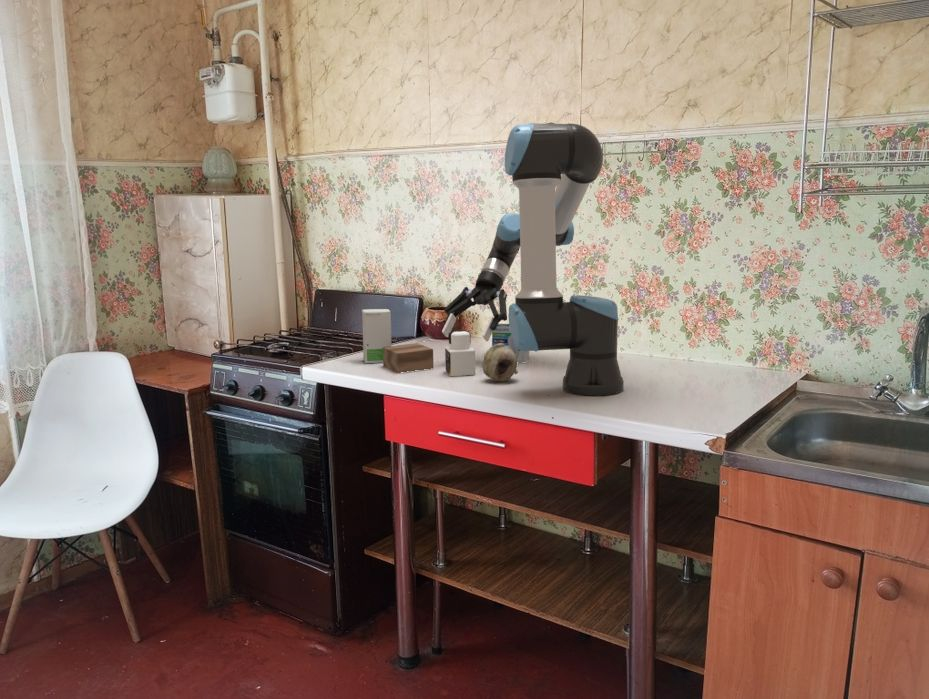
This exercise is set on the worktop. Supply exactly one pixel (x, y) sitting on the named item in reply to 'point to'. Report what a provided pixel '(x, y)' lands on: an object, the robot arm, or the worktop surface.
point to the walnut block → (408, 357)
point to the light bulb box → (508, 341)
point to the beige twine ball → (499, 363)
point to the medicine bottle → (460, 354)
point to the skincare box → (375, 334)
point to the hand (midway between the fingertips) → (464, 336)
